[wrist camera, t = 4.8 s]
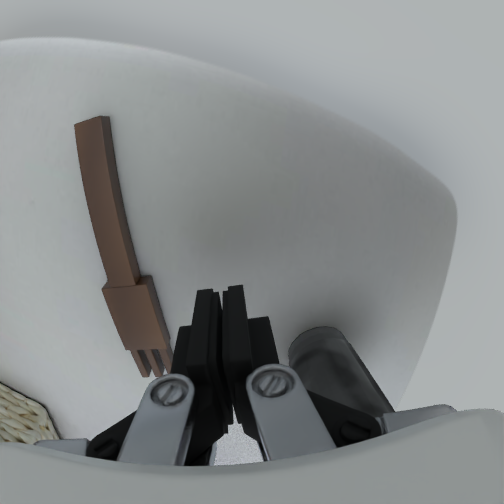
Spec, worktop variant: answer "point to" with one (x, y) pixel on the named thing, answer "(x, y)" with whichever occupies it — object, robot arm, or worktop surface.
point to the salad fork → (120, 253)
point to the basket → (23, 419)
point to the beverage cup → (336, 371)
